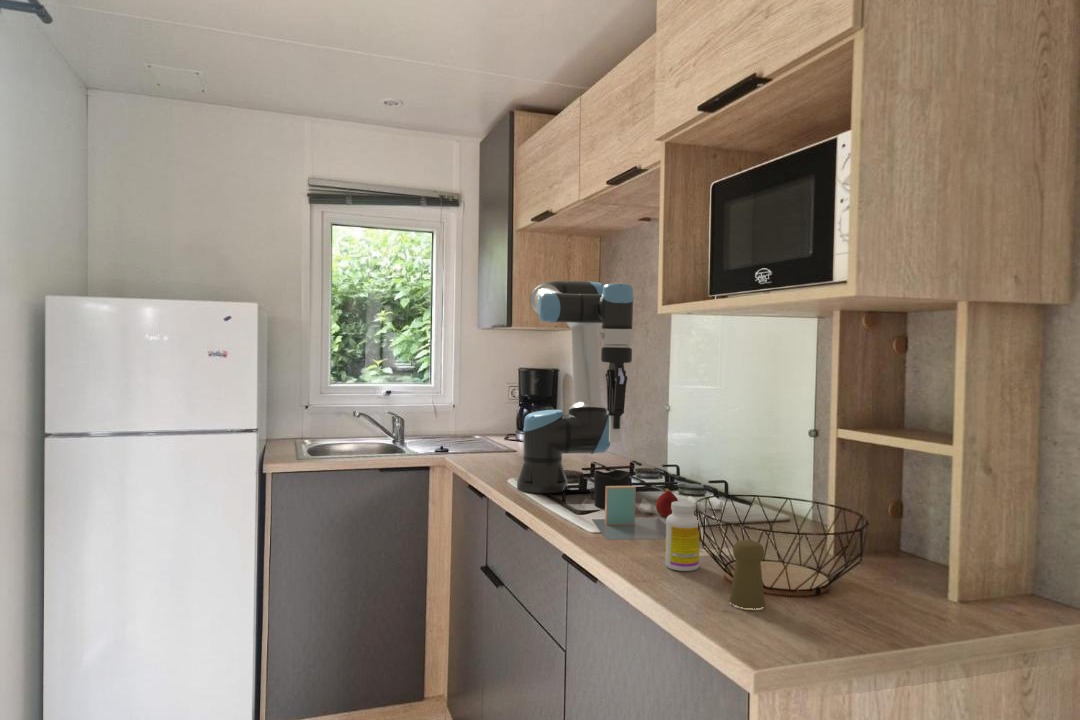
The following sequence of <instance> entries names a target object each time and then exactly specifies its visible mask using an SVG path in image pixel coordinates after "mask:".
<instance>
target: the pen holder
mask: <svg viewBox="0 0 1080 720" xmlns="http://www.w3.org/2000/svg"><path fill="white" fill-rule="evenodd" d="M630 478H631V477H630V472H629V471H626V470H622V469H616V470H611V471H608V472H603V471H600V470H595V471H593V480H594V481H593V486H594V487H593V489H594V495H593V496H594V497H593V498H594V506H595V508H598V509H602V510H605V487H606V486H630Z"/></svg>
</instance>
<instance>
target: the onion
mask: <svg viewBox="0 0 1080 720" xmlns="http://www.w3.org/2000/svg"><path fill="white" fill-rule="evenodd" d="M674 501H679V499H678V497H677V496H676V495H675V494H674V493H673V492H672V491H670V488H665V490H664V492H662V494H661V495H659V497H657V499H656V503H655V506H656V507H655V508H656V511H657V513H658V514H659V515H660V516H662V517H663V518H667V517H668V516H669V515H670V514H672V509H671V503H672V502H674Z"/></svg>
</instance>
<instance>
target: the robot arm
mask: <svg viewBox="0 0 1080 720" xmlns="http://www.w3.org/2000/svg"><path fill="white" fill-rule="evenodd" d="M634 299H635V297H634V288H633V286H632V285H631V284H628V283H606V284H603V283H602V282H598V281H597V282H596V281H591V280H588V281H581V280H579V281H577V280H576V281H575V280H573V281H572V280H571V281H570V280H552V281H547V282H544V283H541V284H539V285H537V286H536V287H534V289H533V290H532V291H531V293H530V296H529V304H530V307H531V308H532V310H533V311H534V313H536V314H537V315H538V320H539V321H541V322H545V323H551V324H552V323H566V326H568V327H569V328H570V329H571V353H572V354H571V355H572V356H571V357H572V359H571V360H572V392H573V394H572V401H573V403H572V405H571V406H570V407H569V408H568V414H564V412H563V410H561V409H545V410H537V411H533V412H531V413H530V412H529V413H528V414H527V415H525V416H524V420H523V421H524V422H523V429H522V431H523V457H522V458H523V462H522V466H521V469H520V471H519V475H518V477H517V482H516V488H517V489H518V490H519V491H520V492H521V491H522V492H524V493H525V492H526V493H533V494H556V493H561V492H563V491H562V490H563V488H564V487H566V486H567V487H568V479H567V475H566V472H565V469H564V466H563V462H562V461H563V454H591V455H594V454H604V453H606V452H607V451H608V450H609V449H610V446H611V443H621V442H622V416H623V415H624V413H625V402H626V390H627V381H628V379H629V378H628V376H627V371H626V369H625V365H624V364H629V363H630V364H631V363H632V361H633V350H632V347H631V346H632V345H633V315H634V314H633V313H634ZM600 328H601V331H602V332H600ZM600 337H601V345H602V346H603V347H602V348H601V347H600ZM600 348H601V349H600ZM600 350H601V351H600ZM601 362H603V363H609V365H608V369H607V370H606V373H605V381H606V405H607V406H605V405H604V404H603V403H602V386H601V385H602V380H601V378H602V377H601Z"/></svg>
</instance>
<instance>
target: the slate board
mask: <svg viewBox="0 0 1080 720" xmlns="http://www.w3.org/2000/svg"><path fill="white" fill-rule="evenodd" d="M591 521H592V522H593V524H594V525H595V526H596V528H597V529H598V530H599V532H600V534H602V536H603V537H604V538H605V540H606V541H607V540H609V541H611V540H613V541H615V540H616V541H617V540H622V541H623V540H659V539H660V540H662V539H663V540H664V539H665V540H666V522H664V521H663V520H662V519H660V518H659V517H658V518H657V517H656V518H653V517H651V518H635V525H606V524H605V518H598V519H597V518H593V519H592V518H591Z"/></svg>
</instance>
